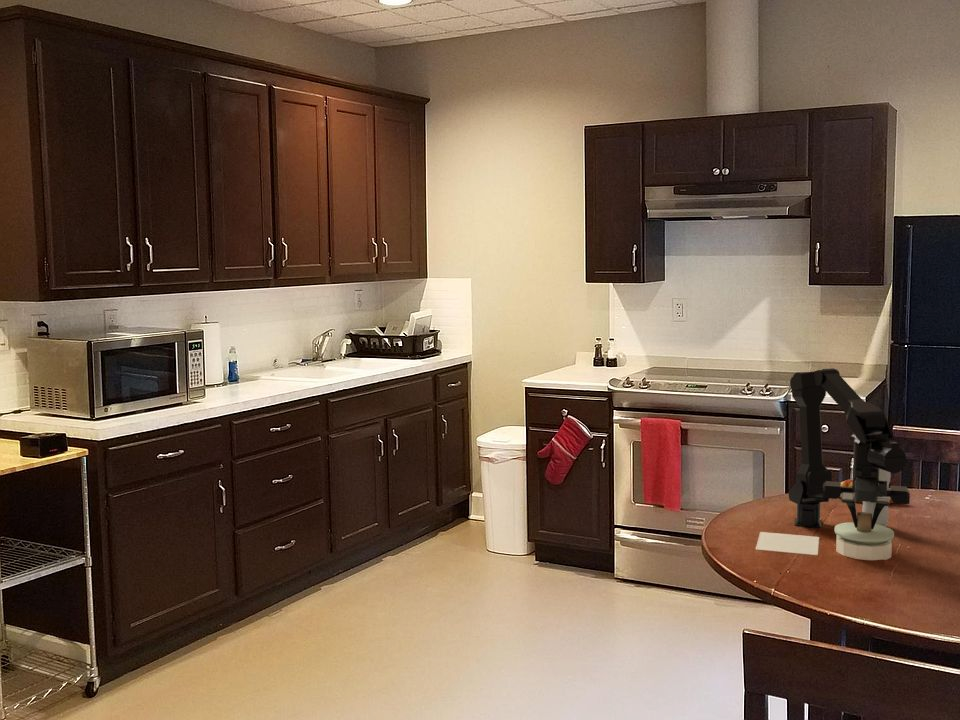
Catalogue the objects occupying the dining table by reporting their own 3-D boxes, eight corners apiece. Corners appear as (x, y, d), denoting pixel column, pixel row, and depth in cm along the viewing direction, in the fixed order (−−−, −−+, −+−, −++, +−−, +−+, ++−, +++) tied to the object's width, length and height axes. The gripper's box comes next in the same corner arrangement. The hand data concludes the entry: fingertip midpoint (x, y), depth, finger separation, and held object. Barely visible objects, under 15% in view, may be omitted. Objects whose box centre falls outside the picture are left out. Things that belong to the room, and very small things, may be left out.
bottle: (884, 523, 252) (887, 447, 250) (892, 531, 246) (895, 453, 243) (857, 522, 253) (859, 446, 250) (864, 530, 246) (867, 452, 244)
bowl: (836, 542, 238) (836, 528, 237) (889, 547, 234) (890, 533, 233) (835, 558, 227) (836, 543, 226) (892, 563, 222) (892, 548, 222)
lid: (834, 523, 238) (835, 503, 237) (892, 528, 233) (893, 508, 233) (834, 539, 226) (834, 519, 225) (895, 544, 221) (896, 524, 220)
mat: (760, 533, 246) (760, 531, 246) (819, 538, 241) (819, 537, 241) (755, 550, 233) (755, 549, 233) (817, 556, 228) (817, 555, 228)
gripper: (823, 468, 223) (821, 534, 225) (912, 474, 217) (909, 542, 219) (824, 457, 233) (822, 520, 235) (909, 462, 227) (906, 527, 229)
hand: (864, 528), depth 229 cm, fingers closed on lid, 3 cm apart
